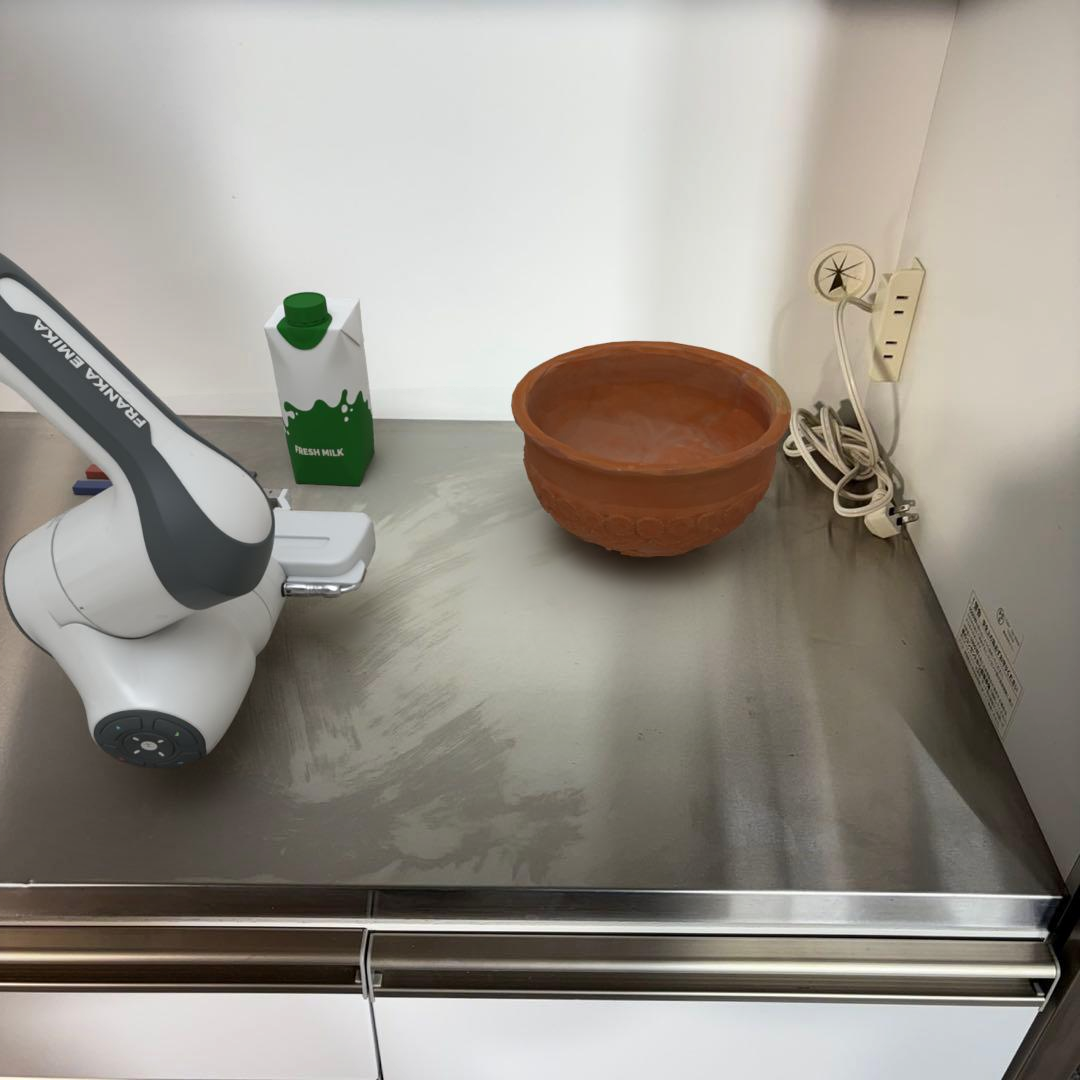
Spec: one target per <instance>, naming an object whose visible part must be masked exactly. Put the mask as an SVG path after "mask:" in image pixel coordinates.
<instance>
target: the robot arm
mask: <svg viewBox="0 0 1080 1080" xmlns="http://www.w3.org/2000/svg"><path fill="white" fill-rule="evenodd" d="M0 383H1V384H3V385H5V386H6V387H8V388H10V389H11V390H13V391H14V392H15V393H16V394H18V395H19V396H20V397H21V398H22V399H23V400H24V401H25V402H26V403H28V405H30V406H31V408H32V409H34V410H35V411H36V412H37V413H38V414H40V416H41V417H43V418H44V419H45V420H46V421H47V422H48V423H49V424H50V425H52V427H53V428H55V429H56V431H58V432H59V433H60V434H61V435H63V436H64V437H65V439H67V440H68V441H69V442H70V443H71V444H72V445H73V446H74V447H76V449H78V450H79V451H80V452H81V453H82V454H83V455H84V456H85V457H87V459H88V460H90V461H91V463H93V464H95V465H96V466H97V467H99V468H100V469H101V470H102V471H103V472H104V473H105V474H106V475H107V476H108V477H109V479H108V480H109V481H111V482H112V484H113V486H111V487H109V488H108V489H106V490H104V491H103V492H101V493H99V494H97V495H93V496H92V497H91V498H89V499H87V500H85V501H84V502H82V503H81V504H77V505H74V506H73V507H70V508H69V509H67V510H65V511H64V512H62V513H60V514H58V515H56V516H55V517H53V518H51V519H50V520H48V521H47V522H45V523H43V524H42V525H40V526H38V527H37V528H35V529H33V530H32V531H30V532H29V533H27V534H24V535H23V536H21V537H20V538H19V539H18V540H17V541H15V543H14V544H13V545H12V546H11V548H10V549H9V551H8V553H7V555H6V557H5V560H4V565H3V568H2V569H3V570H2V571H3V572H2V593H3V594H2V595H3V598H4V603H5V606H6V609H7V613H8V614H9V617H10V618H11V620H12V621H13V623H14V625H15V626H16V628H17V629H18V631H20V633H21V634H22V635H23V636H24V637H25V638H26V639H27V640H28V641H30V643H32V644H33V645H34V646H36V647H37V648H38V649H40V650H41V651H42V652H44V653H45V654H46V655H48V656H49V657H50V658H52V659H53V660H55V661H56V662H57V664H58V665H59V666H60V667H61V669H62V670H63V671H64V673H65V674H66V675H67V677H68V678H69V680H70V681H71V683H72V685H73V686H74V687H75V689H76V690H77V692H78V694H79V696H80V698H81V700H82V702H83V703H82V704H83V706H84V709H85V714H86V721H87V725H88V730H89V734H90V736H91V738H92V740H93V741H94V743H95V744H96V746H97V747H98V748H99V749H100V750H101V751H103V752H104V753H105V754H106V755H108V756H109V757H111V758H113V759H115V760H117V761H119V762H121V763H124V764H127V765H130V766H133V767H136V768H141V769H148V770H149V769H150V770H168V769H174V768H180V767H182V766H185V765H189V764H191V763H193V762H196V761H198V760H200V759H202V758H204V757H206V756H207V755H208V754H210V752H212V750H213V749H214V748H215V747H216V746H217V745H218V744H219V742H220V741H221V739H222V738H223V737H224V735H225V734H226V732H227V731H228V729H229V728H230V726H231V724H232V722H233V721H234V719H235V717H236V715H237V714H238V711H239V710H240V708H241V706H242V703H243V701H244V700H245V697H246V696H247V693H248V691H249V688H250V686H251V684H252V681H253V678H254V675H255V673H256V672H255V671H256V665H257V662H256V661H257V660H256V659H257V656H258V655H259V654H260V653H261V652H262V651H263V650H264V649H265V647H266V646H267V644H268V643H269V640H270V639H271V636H272V633H273V631H274V628H275V626H276V624H277V621H278V619H279V617H280V614H281V611H282V610H283V607H284V605H285V603H286V600H287V598H288V597H289V598H290V597H291V598H310V597H323V598H325V599H336V598H340V597H342V595H344V594H347V593H351V592H353V591H358V590H359V589H361V587H362V586H363V584H364V581H365V579H366V575H367V572H368V568H369V566H370V563H372V560H373V557H374V555H375V552H376V547H377V546H376V544H377V542H376V541H377V540H376V532H375V526H374V522H373V520H372V519H371V517H369V516H368V514H366V513H365V512H362V511H361V512H360V511H358V512H357V511H330V510H329V511H328V510H327V511H326V510H294V509H293V510H292V503H293V501H292V499H293V498H292V494H291V490H290V488H267V487H263V486H262V484H260V482H259V480H257V479H256V477H255V478H254V477H253V476H252V475H251V474H250V473H249V472H248V471H249V470H248V469H247V468H245V467H244V466H243V465H242V464H241V463H239V462H238V461H237V460H235V458H233V457H232V456H230V455H229V454H228V453H226V452H225V451H223V450H222V449H220V448H219V447H217V446H216V445H215V444H214V443H212V442H210V441H209V440H208V439H207V438H205V437H203V436H202V435H201V434H199V433H198V431H196V430H194V429H193V428H192V427H191V426H190V425H188V424H187V423H186V422H185V421H184V420H183V419H182V418H181V417H180V416H179V415H177V413H175V411H173V409H171V408H170V407H169V405H167V404H166V403H165V402H164V401H163V400H162V399H161V398H160V397H159V396H158V395H157V394H155V392H154V391H153V390H152V389H151V388H149V387H148V386H147V385H146V384H145V383H144V382H143V381H142V379H140V377H139V376H137V375H136V374H135V373H134V372H133V371H132V370H131V369H130V368H129V367H127V365H126V364H125V363H124V362H123V361H122V360H121V359H119V357H117V355H115V354H114V353H113V352H112V350H110V349H109V348H108V347H107V346H106V345H105V344H104V343H103V342H102V341H101V340H100V339H99V338H97V336H95V334H93V333H92V332H91V331H90V330H89V329H88V328H87V327H86V326H85V325H84V324H83V323H82V322H81V321H80V320H79V319H78V318H77V317H76V316H75V315H74V314H73V313H72V312H71V311H70V310H68V309H67V307H65V306H64V305H63V304H62V303H61V302H60V301H59V300H58V299H57V298H56V297H55V296H53V295H52V293H50V291H48V290H47V289H46V288H45V287H44V286H43V285H41V284H40V283H39V282H38V281H37V279H35V278H34V277H33V276H31V275H30V274H29V273H28V272H26V271H25V270H24V269H23V268H22V267H21V266H20V265H18V263H16V262H14V261H13V260H11V258H9V257H8V256H6V255H5V254H3V253H1V252H0Z"/></svg>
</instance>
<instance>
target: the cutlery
mask: <svg viewBox="0 0 1080 1080" xmlns="http://www.w3.org/2000/svg"><path fill="white" fill-rule="evenodd" d="M247 471H248V472H249V473H250V474H251V475H252V476H253V477H254V478H255V479H256V477H257V476H258V473H257V471H255V470H254V471H253V470H252V471H251V470H247ZM84 472H85V473H84V474H85V476H86V479H96V480H82V479H81V480H76V482H75V483H74V484H73V485H72V486H71V488H72V489H71V490H72V492H73V495H81V496H83V495H86V496H96V495H97V494H99V493H101V492H103V491H104V490H106V489H108V488H109V487H111V486H113V484H112V482H111V480H110V479H109V477H108V476H107V475H106V474H105V473H104V472H103V471H102V470H101V469H100V468H99V467H97V466H96V465H95V464H94V463H93V464H90V465H88V467H87V468H86V470H85V471H84ZM97 479H99V480H97ZM103 479H104V480H103Z"/></svg>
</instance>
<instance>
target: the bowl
mask: <svg viewBox="0 0 1080 1080" xmlns="http://www.w3.org/2000/svg"><path fill="white" fill-rule="evenodd" d="M510 407H511V413H512V416H513V419H514V422H515V424H516V425H517V426H518V427H519V429H520V430H521V432H523V437H524V438H523V439H524V445H523V449H522V450H523V458H522V461H523V466H524V469H525V473H526V476H527V479H528V481H529V482H530V484H531V487H532V490H533V493H534V494H535V496H536V498H537V500H538V502H539V504H540V506H541V507H542V508H543V510H544V511H545V512H546V513H547V514H549V515H550V516H551V517H552V518H553V519H554V521H556V522H557V523H558V525H559V526H560V527H561V528H562V529H564V530H565V531H567V532H569V533H571V534H572V535H574V536H576V537H578V539H581V540H582V541H584V542H586V543H591V544H592V543H593V544H596V545H598V546H601V547H603V548H605V550H607V551H610V552H611V551H615V552H620V555H624V556H630V557H640V558H641V557H643V558H653V557H673V556H679V555H683V554H684V555H685V554H687V552H690V551H692V550H693V549H697V548H703V547H706V546H709V545H710V544H713V543H715V542H717V540H719V539H720V538H722V537H725V536H727V535H728V534H730V533H732V532H733V531H734V530H736V529H737V528H738V527H740V526H741V525H742V524H744V522H745V521H746V519H747V518H748V516H749V515H751V514H752V513H754V511H755V510H756V507H757V506H758V503H760V502H761V501H763V499H764V498H765V496H766V494H767V492H768V491H769V489H770V486H771V483H772V481H773V477H774V473H775V470H776V464H777V458H776V456H777V451H778V446H779V443H780V441H781V440H782V438H783V437H784V435H785V434H786V433H787V431H788V430H789V427H790V425H791V424H790V423H791V419H792V405H791V401H790V397H789V396H788V394H787V393H786V390H785V389H784V388H783V387H782V385H780V384H779V382H778V381H776V379H775V378H773V377H772V376H770V375H769V374H768V373H766V372H765V371H763V370H762V369H761V368H759V367H758V366H755V365H753V364H751V363H749V362H748V361H745V360H742V359H741V358H739V357H736V356H734V355H731V354H729V353H728V354H727V353H725V352H721V351H719V350H714V349H710V348H707V347H702V346H699V345H698V346H697V345H692V344H685V343H679V342H674V341H664V340H663V341H660V340H657V341H656V340H623V341H610V342H604V343H603V342H602V343H596V344H591V345H585V346H582V347H578V348H576V349H573V350H570V351H567V352H564V353H561V354H558V355H556V356H553V357H552V358H551V357H550V359H547V360H546V361H543V362H542V363H539V364H538V365H536V366H535V367H533V368H532V369H530V370H529V371H527V372H526V374H525V375H524V376H523V377H522V378H521V380H519V382H518V383H517V384H516V386H515V388H514V390H513V391H512V394H511V403H510Z"/></svg>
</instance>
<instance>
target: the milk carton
mask: <svg viewBox="0 0 1080 1080" xmlns="http://www.w3.org/2000/svg"><path fill="white" fill-rule="evenodd" d="M361 311H362V310H361V299H360V298H354V297H353V298H351V297H350V298H349V297H326V296H325V295H324V294H322V293H320V292H315V291H302V292H296V293H293V294H290V295H287V296H286V297H285V298H284V299H283V301H282V303H281V304H279V305H277V307H276V308H275V311H274V312H273V313H272V315H271V316H270V317H269V319H268V320H267V321H266V323H265V324H264V326H263V330H264V333H265V337H266V342H267V346H268V350H269V353H270V358H271V363H272V368H273V375H274V380H275V385H276V390H277V396H278V401H279V407H280V412H281V418H282V423H283V429H284V434H285V440H286V445H287V450H288V454H289V458H290V463H291V467H292V473H293V476H294V481H295V484H305V485H307V484H308V485H329V486H350V487H360V486H361V484H362V482H363V479H364V477H365V475H366V473H367V470H368V468H369V465H370V463H371V461H372V459H373V456H374V455H375V435H374V418H373V408H372V400H371V391H370V383H369V374H368V365H367V364H368V363H367V357H366V350H365V343H364V342H365V337H364V333H363V323H362V322H363V321H362V312H361Z"/></svg>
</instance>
